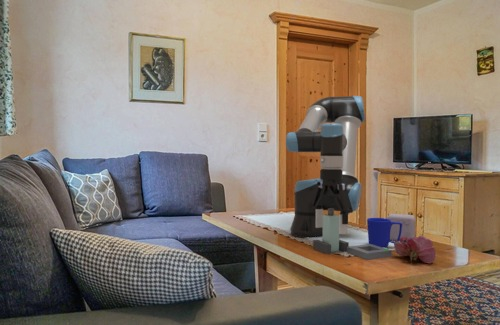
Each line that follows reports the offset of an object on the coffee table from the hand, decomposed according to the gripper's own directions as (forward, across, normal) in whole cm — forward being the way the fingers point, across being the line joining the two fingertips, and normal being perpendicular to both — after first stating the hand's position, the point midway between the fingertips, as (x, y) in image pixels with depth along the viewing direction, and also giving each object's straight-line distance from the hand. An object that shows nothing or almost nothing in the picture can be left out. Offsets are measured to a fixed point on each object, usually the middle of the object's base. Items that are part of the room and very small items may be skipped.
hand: (330, 230), depth 134 cm
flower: (+8, +20, +18) cm, 28 cm away
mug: (+7, +2, +22) cm, 24 cm away
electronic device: (+7, -4, +36) cm, 37 cm away
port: (+7, +10, +8) cm, 15 cm away
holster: (+7, 0, 0) cm, 7 cm away
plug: (+7, 0, 0) cm, 7 cm away
